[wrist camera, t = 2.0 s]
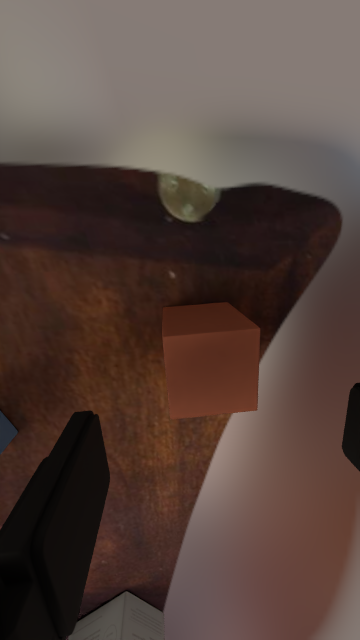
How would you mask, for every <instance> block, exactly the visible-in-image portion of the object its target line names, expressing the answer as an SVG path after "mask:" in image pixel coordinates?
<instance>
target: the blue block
mask: <svg viewBox="0 0 360 640" xmlns="http://www.w3.org/2000/svg"><path fill="white" fill-rule="evenodd" d="M17 433H18V431H17V430H16V428H15V427H14V426H13V425H12V424H11V422H10V421H9V420H8V419H7V418H6V417H5V415H4V414H3V413H2V412H1V411H0V454H1V453H2V452H3V451H4V449H5V448H6V447H7V446H8V444H9V443H10V442H11V441H12V439H13V438H14V437H15V436H16V434H17Z"/></svg>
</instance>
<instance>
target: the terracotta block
mask: <svg viewBox="0 0 360 640" xmlns="http://www.w3.org/2000/svg"><path fill="white" fill-rule="evenodd" d="M162 339H163V349H164V359H165V370H166V380H167V391H168V401H169V411H170V419H180V418H190V417H199V416H208V415H218V414H227V413H237V412H246V411H256V410H257V404H258V376H259V351H260V328H259V327H258V326H257V325H256V324H254V323H253V322H252V321H251V320H249V319H248V318H247V317H245V316H244V315H243V314H242V313H240V312H239V311H238V310H237V309H235V308H234V307H233V306H232V305H230V304H229V303H228V302H222V303H210V304H198V305H185V306H173V307H163V325H162Z"/></svg>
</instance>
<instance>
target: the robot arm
mask: <svg viewBox="0 0 360 640" xmlns="http://www.w3.org/2000/svg"><path fill="white" fill-rule="evenodd" d="M342 449H343V452H344V454H345V456H346V457H347V458H348V459H349V460H350V461H351V463H352V464H353V465H354V466H355V467H356V468H357V469H358V470H359V471H360V383H356V384H355V385H354V386H353V388H352V389H351V390H350V395H349V401H348V408H347V415H346V422H345V428H344V435H343V442H342ZM109 482H110V472H109V467H108V462H107V457H106V452H105V446H104V441H103V436H102V431H101V426H100V421H99V416H98V415H97V414H95V415H94V414H93V412H92V411H82V412H75V413H74V414H73V415H72V417H71V418H70V420H69V422H68V423H67V425H66V427H65V429H64V430H63V432H62V434H61V436H60V437H59V439H58V441H57V443H56V444H55V446H54V448H53V449H52V451H51V453H50V455H49V456H48V457H46V458H45V459H43V461H42V462H41V463H40V465H39V466H38V468H37V470H36V471H35V473H34V475H33V476H32V478H31V480H30V481H29V483H28V485H27V486H26V488H25V490H24V491H23V493H22V495H21V496H20V498H19V500H18V501H17V503H16V505H15V506H14V508H13V510H12V511H11V513H10V515H9V516H8V518H7V520H6V522H5V523H4V525H3V527H2V528H1V530H0V640H65V639H66V636H69V635H72V633H73V631H74V629H75V626H76V622H77V618H78V614H79V610H80V605H81V601H82V597H83V593H84V589H85V584H86V580H87V576H88V572H89V568H90V563H91V559H92V555H93V551H94V547H95V542H96V538H97V534H98V530H99V526H100V521H101V517H102V513H103V509H104V505H105V500H106V496H107V492H108V488H109Z"/></svg>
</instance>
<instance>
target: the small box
mask: <svg viewBox="0 0 360 640" xmlns="http://www.w3.org/2000/svg"><path fill="white" fill-rule="evenodd" d="M68 640H164V614H163V612H161V611H159V610H158V609H156V608H154V607H153V606H151V605H149V604H148V603H146V602H144V601H143V600H141V599H139V598H138V597H136V596H134V595H132V594H131V593H129V592H127V591H126V592H124V593H123V594H121V595H120V596H118V597H116V598H115V599H113V600H112V601H110V602H108V603H107V604H105V605H104V606H102V607H101V608H99V609H97V610H96V611H94V612H93V613H91V614H89V615H88V616H86V617H85V618H83V619H81V620H80V621H78V622H76V626H75V629H74V631H73V633H72V635H69V639H68Z"/></svg>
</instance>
